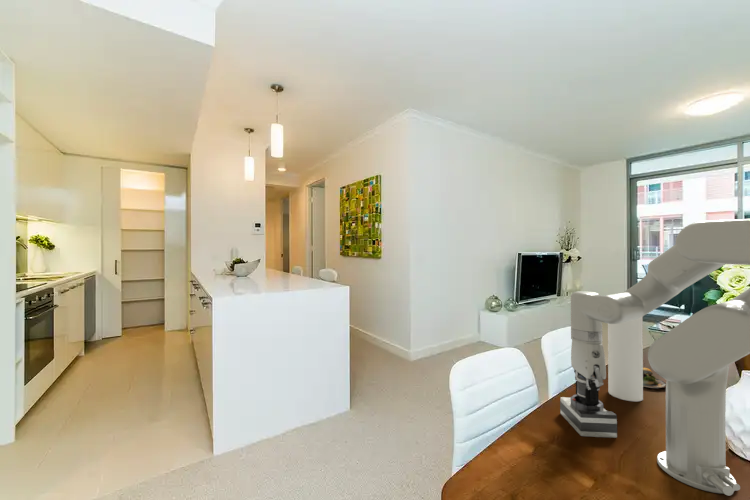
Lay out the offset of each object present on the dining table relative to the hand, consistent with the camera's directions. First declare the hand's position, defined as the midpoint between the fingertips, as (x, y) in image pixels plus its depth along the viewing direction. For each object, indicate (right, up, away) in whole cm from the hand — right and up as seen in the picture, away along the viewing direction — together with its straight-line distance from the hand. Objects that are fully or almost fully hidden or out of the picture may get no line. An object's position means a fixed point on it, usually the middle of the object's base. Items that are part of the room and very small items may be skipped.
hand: (586, 398), depth 93 cm
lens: (0, -2, 0) cm, 2 cm away
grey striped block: (0, -8, 0) cm, 8 cm away
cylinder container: (+25, -7, +18) cm, 32 cm away
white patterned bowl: (+39, -8, +27) cm, 48 cm away
